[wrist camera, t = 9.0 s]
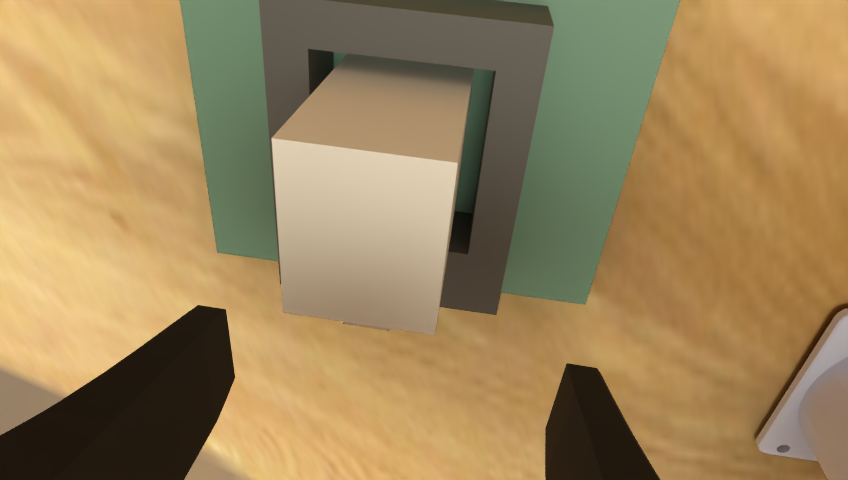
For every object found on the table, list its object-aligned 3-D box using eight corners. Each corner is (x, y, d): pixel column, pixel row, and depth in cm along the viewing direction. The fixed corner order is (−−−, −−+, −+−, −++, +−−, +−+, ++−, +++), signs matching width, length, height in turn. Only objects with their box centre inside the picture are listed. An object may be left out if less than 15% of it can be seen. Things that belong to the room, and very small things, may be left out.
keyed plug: (475, 61, 16) (458, 162, 11) (453, 218, 19) (431, 366, 14) (354, 46, 17) (271, 138, 11) (351, 204, 20) (285, 343, 14)
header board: (689, -67, 15) (733, -54, 12) (582, 288, 21) (594, 352, 19) (180, -119, 16) (106, -118, 13) (228, 238, 22) (186, 292, 19)
